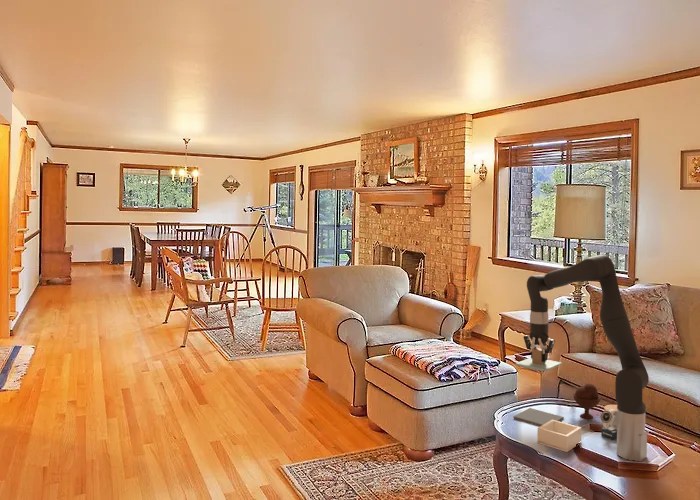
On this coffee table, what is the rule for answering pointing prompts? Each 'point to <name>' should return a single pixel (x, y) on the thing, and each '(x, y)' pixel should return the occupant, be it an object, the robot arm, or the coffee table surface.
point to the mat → (537, 417)
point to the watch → (606, 420)
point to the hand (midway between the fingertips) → (538, 360)
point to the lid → (538, 362)
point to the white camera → (611, 408)
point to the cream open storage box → (559, 435)
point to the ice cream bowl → (587, 399)
